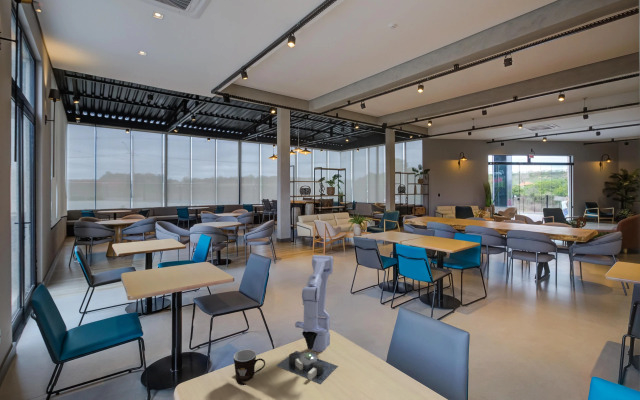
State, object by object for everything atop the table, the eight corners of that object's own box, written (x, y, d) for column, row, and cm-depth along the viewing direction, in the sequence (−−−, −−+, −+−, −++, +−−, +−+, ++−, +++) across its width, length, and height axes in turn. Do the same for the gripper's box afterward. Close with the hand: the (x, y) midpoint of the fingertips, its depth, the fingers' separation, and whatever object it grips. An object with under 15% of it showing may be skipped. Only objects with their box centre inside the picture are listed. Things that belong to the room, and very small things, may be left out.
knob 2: (316, 367, 126) (316, 360, 125) (325, 370, 123) (325, 363, 123) (304, 378, 118) (304, 370, 118) (313, 381, 116) (314, 374, 116)
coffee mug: (228, 382, 118) (228, 357, 117) (244, 371, 125) (244, 347, 125) (252, 392, 112) (252, 366, 112) (266, 379, 120) (266, 354, 119)
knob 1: (287, 361, 129) (287, 354, 129) (296, 358, 132) (296, 351, 132) (297, 371, 123) (297, 364, 122) (306, 368, 125) (306, 360, 125)
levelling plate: (296, 353, 138) (296, 341, 138) (338, 369, 127) (338, 356, 126) (275, 369, 127) (275, 355, 126) (320, 388, 115) (320, 373, 115)
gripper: (290, 314, 126) (290, 347, 126) (320, 323, 118) (319, 357, 118) (300, 309, 132) (300, 340, 132) (329, 317, 124) (329, 350, 124)
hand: (310, 348), depth 126 cm, fingers closed
